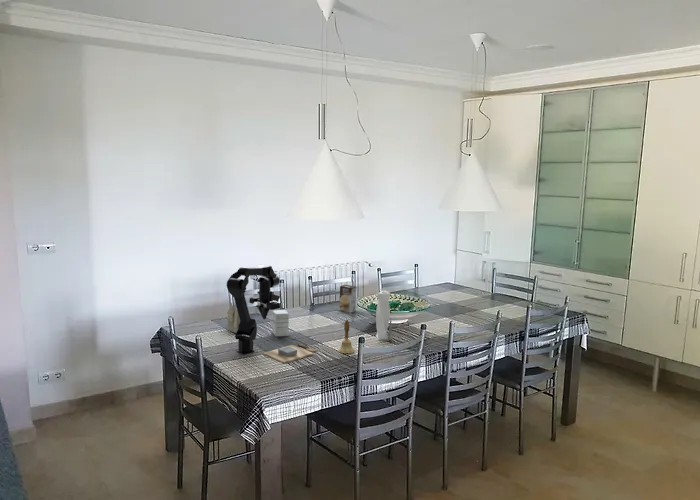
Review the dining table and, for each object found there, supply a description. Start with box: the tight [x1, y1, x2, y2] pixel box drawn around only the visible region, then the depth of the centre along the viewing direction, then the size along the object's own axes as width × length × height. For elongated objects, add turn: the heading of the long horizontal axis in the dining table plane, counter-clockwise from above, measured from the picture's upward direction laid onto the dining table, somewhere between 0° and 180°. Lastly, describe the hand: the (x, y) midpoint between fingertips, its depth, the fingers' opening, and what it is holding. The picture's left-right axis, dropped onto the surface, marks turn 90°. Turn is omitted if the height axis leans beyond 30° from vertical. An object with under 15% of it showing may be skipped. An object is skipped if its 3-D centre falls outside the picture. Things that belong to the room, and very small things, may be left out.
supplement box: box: [271, 309, 290, 337], centre depth 289 cm, size 7×7×13 cm
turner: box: [297, 343, 318, 353], centre depth 269 cm, size 3×12×1 cm, turn 47°
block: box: [277, 345, 297, 357], centre depth 258 cm, size 6×2×7 cm
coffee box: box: [338, 284, 357, 314], centre depth 341 cm, size 9×6×16 cm
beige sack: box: [226, 302, 252, 334], centre depth 297 cm, size 16×16×15 cm
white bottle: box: [375, 288, 393, 342], centre depth 287 cm, size 8×8×28 cm
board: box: [263, 344, 314, 364], centre depth 259 cm, size 18×16×1 cm
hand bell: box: [337, 319, 355, 355], centre depth 266 cm, size 8×8×16 cm
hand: (264, 319), depth 275 cm, fingers closed
